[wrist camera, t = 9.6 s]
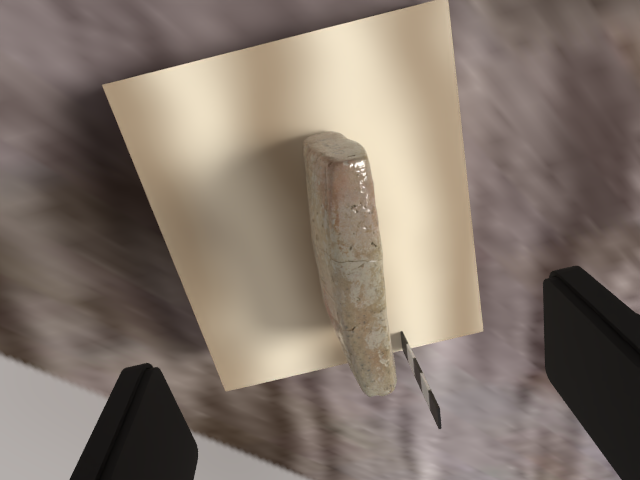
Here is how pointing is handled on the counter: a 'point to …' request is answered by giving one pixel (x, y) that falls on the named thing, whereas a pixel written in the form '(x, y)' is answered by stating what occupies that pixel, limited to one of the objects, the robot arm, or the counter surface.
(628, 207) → the counter surface
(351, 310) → the stone tablet
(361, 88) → the birch block
